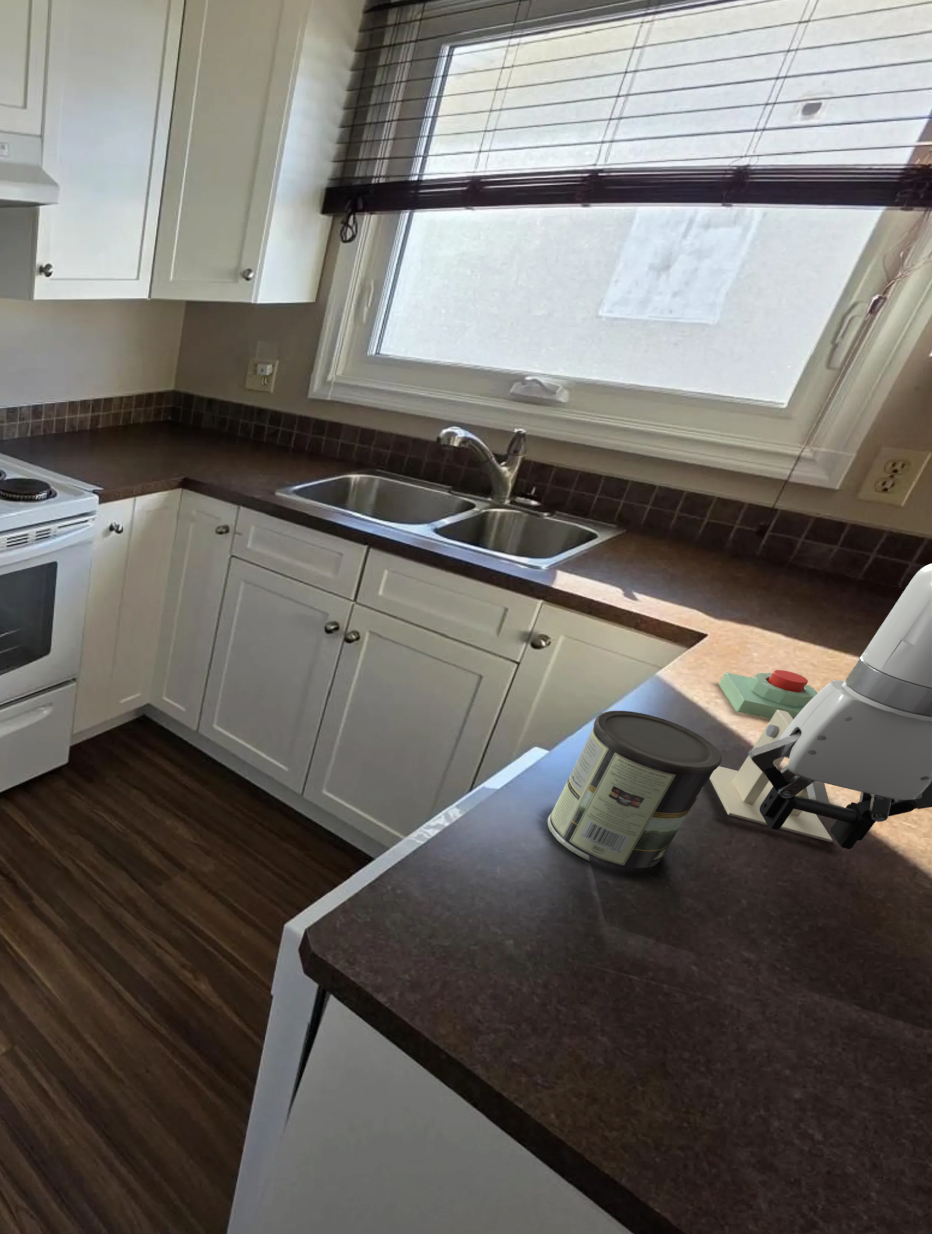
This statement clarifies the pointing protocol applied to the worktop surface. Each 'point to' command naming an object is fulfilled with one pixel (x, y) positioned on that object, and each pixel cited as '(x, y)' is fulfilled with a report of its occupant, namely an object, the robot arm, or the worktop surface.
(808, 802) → the lever
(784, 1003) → the worktop surface
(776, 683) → the button
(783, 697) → the button box
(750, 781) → the bracket
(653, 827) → the coffee can
